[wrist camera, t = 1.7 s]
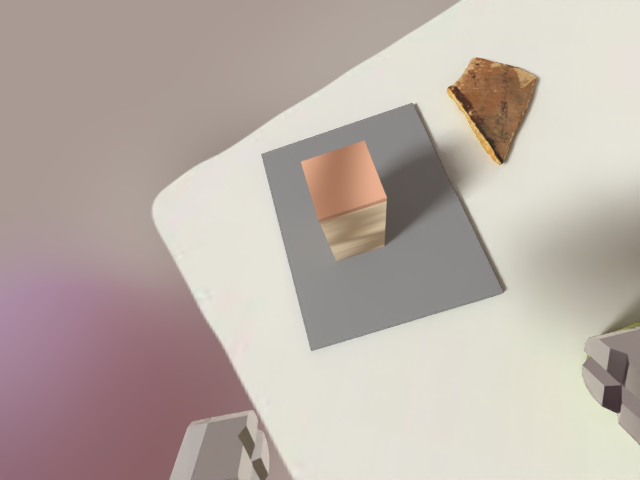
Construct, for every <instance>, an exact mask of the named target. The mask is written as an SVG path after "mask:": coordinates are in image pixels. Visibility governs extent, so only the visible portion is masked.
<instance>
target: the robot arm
mask: <svg viewBox="0 0 640 480" xmlns="http://www.w3.org/2000/svg"><path fill="white" fill-rule="evenodd" d="M584 351H585V352H586V353H587V354H588V355H589V356H590V357H589V358H588V359H587V360H586V362H585V363H584V364H583V368H582V377H583V379H584V382H585V385H586V387H587V389H588V390H589V392H590V393H591V395H592V396H593V398H594V399H595V400H596V401H597V402H598V403H599V404H600V405H601V406H602V407H604V408H607V409H609V410H611V411H613V412H615V413H617V417H618V423H619V424H620V426H621V427H622V428H623V429H624V430H625V431H626V432H627V433H628V434H629V435H630V436H631V437H632V438H633V439H634V440H635V441H636V442H637V443H638V444H639V445H640V326H639V327H635V328H632V329H625V330H620V331H616V332H611V333H607V334H603V335H598V336H594V337H589V338H588V340H587V341H586V342H585V348H584ZM257 425H258V418H257V416H256V414H255V412H254V411H252V410H250V411H244V412H239V413H234V414H228V415H223V416H218V417H212V418H208V419H203V420H198V421H193V422H192V423H191V424H190V425H189V427H188V428H187V431H186V434H185V436H184V440H183V442H182V445H181V448H180V451H179V454H178V457H177V460H176V463H175V466H174V469H173V472H172V474H171V478H170V480H265V479H266V478H267V476H268V474H269V450H268V445H267V440H266V437H265V435H264V433H263V432H262V431H260V430H259V429H257Z"/></svg>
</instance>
